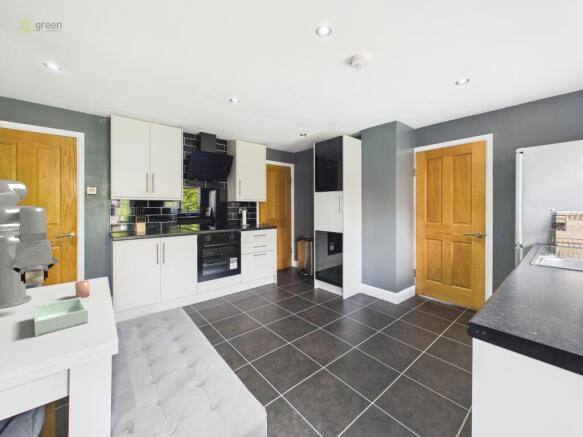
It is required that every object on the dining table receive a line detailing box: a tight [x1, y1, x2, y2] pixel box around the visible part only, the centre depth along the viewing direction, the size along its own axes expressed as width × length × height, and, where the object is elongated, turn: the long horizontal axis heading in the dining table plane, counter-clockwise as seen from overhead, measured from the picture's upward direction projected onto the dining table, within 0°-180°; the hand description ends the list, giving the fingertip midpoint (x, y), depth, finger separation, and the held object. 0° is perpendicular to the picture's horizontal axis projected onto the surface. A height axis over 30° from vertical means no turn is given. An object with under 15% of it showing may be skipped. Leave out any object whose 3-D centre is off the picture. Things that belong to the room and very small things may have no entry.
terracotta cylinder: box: [74, 280, 90, 299], centre depth 116 cm, size 5×5×7 cm
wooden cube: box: [25, 268, 45, 287], centre depth 99 cm, size 5×5×5 cm
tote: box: [33, 297, 89, 338], centre depth 92 cm, size 18×14×5 cm
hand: (34, 280), depth 100 cm, fingers closed on wooden cube, 4 cm apart
